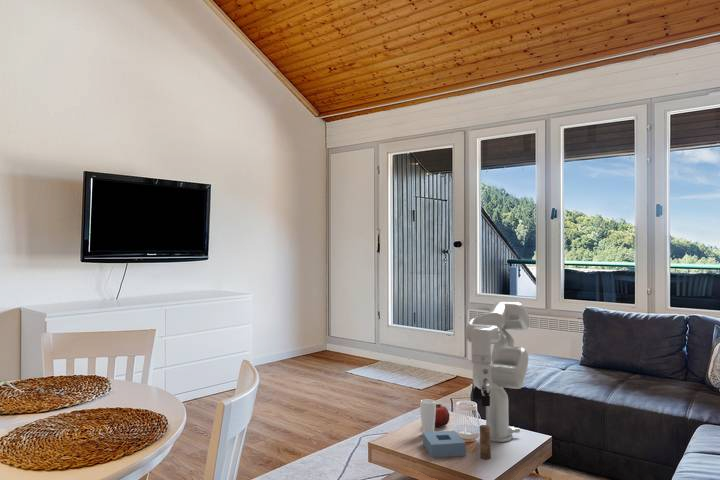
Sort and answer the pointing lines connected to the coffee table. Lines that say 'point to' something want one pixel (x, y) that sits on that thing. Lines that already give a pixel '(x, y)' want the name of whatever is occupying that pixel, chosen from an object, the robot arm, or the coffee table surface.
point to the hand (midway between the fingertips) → (481, 402)
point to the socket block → (444, 444)
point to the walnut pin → (485, 442)
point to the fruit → (441, 415)
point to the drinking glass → (428, 415)
